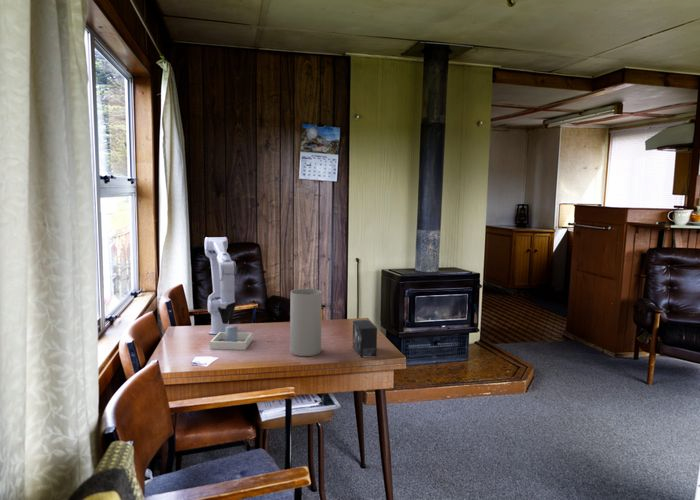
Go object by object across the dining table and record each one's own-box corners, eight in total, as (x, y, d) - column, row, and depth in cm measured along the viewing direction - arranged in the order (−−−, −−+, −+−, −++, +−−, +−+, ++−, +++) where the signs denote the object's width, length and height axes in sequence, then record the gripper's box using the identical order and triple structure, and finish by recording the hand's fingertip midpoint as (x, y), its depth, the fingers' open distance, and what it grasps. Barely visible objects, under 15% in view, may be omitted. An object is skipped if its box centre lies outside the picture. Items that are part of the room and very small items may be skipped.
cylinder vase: (325, 354, 200) (327, 293, 197) (297, 358, 194) (298, 295, 191) (312, 345, 211) (313, 288, 208) (285, 349, 204) (285, 290, 202)
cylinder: (227, 341, 213) (226, 325, 212) (238, 341, 213) (238, 325, 212) (224, 345, 208) (224, 328, 207) (236, 345, 208) (236, 328, 207)
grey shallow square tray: (219, 338, 218) (219, 332, 218) (252, 339, 218) (252, 332, 218) (209, 348, 203) (209, 341, 203) (245, 349, 203) (245, 342, 203)
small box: (351, 347, 209) (352, 320, 208) (367, 347, 211) (368, 319, 210) (360, 357, 197) (361, 328, 196) (377, 356, 199) (377, 327, 197)
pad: (225, 341, 214) (225, 340, 214) (242, 341, 214) (242, 341, 214) (221, 346, 207) (221, 345, 207) (238, 346, 207) (238, 346, 207)
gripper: (222, 286, 217) (222, 316, 219) (213, 293, 203) (213, 325, 205) (238, 286, 217) (238, 317, 219) (230, 293, 203) (230, 325, 205)
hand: (227, 321), depth 212 cm, fingers open, 7 cm apart
